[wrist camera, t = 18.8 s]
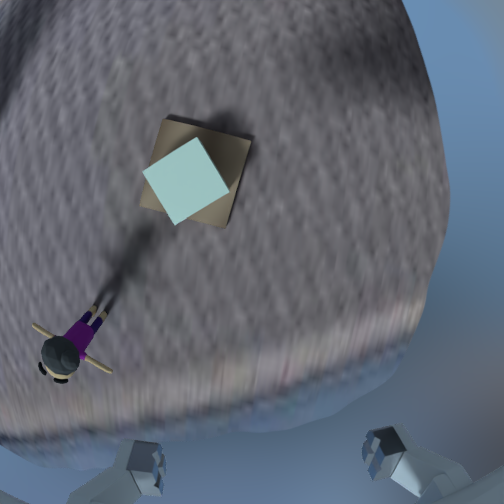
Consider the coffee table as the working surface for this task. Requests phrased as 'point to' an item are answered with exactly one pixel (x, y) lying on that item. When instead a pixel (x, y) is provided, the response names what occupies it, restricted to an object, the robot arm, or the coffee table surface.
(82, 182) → the coffee table surface
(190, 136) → the stand
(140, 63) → the coffee table surface
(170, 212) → the pale aqua cube
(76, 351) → the toy
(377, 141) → the coffee table surface
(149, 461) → the robot arm
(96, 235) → the coffee table surface
